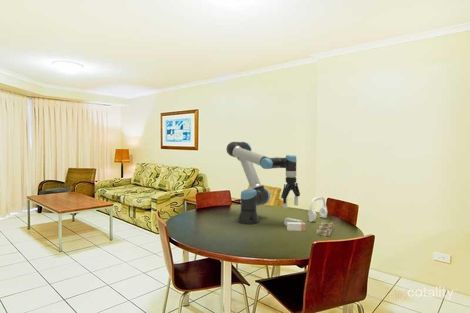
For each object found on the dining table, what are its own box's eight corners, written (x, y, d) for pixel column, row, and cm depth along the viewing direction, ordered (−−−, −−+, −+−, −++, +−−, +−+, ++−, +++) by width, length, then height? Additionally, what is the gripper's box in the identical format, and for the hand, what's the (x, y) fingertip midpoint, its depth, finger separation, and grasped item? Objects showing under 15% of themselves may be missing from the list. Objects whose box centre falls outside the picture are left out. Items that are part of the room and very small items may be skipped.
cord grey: (284, 224, 207) (284, 218, 207) (288, 223, 211) (288, 217, 210) (298, 228, 199) (299, 221, 199) (302, 226, 202) (302, 220, 202)
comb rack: (316, 235, 183) (316, 227, 183) (321, 226, 202) (321, 220, 202) (329, 236, 180) (329, 229, 180) (333, 228, 199) (333, 221, 198)
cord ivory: (287, 230, 193) (287, 223, 193) (286, 228, 198) (286, 222, 197) (305, 231, 192) (305, 224, 192) (304, 229, 197) (304, 222, 196)
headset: (314, 223, 212) (314, 199, 211) (305, 221, 217) (306, 197, 217) (328, 219, 225) (329, 196, 224) (320, 217, 230) (321, 195, 230)
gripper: (285, 178, 194) (285, 209, 194) (304, 175, 212) (304, 204, 212) (276, 177, 199) (276, 208, 200) (296, 175, 217) (296, 203, 217)
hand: (290, 206), depth 206 cm, fingers open, 13 cm apart
